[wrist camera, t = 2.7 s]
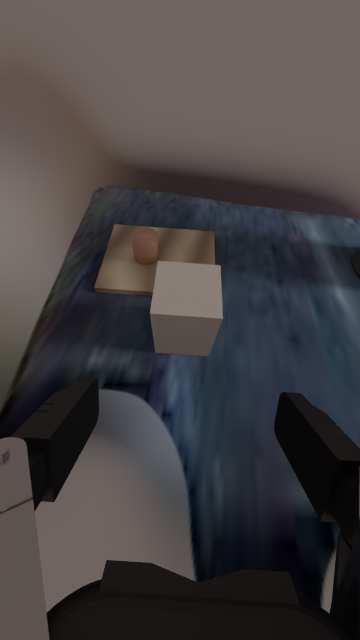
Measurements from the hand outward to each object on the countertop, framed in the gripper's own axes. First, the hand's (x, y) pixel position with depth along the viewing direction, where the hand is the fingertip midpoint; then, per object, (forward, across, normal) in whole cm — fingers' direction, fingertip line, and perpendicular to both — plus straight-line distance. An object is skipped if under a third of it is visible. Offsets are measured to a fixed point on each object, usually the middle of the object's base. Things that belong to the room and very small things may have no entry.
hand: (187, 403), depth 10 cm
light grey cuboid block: (+18, 0, +2) cm, 18 cm away
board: (+26, +4, -6) cm, 27 cm away
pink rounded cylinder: (+26, +6, -7) cm, 27 cm away
